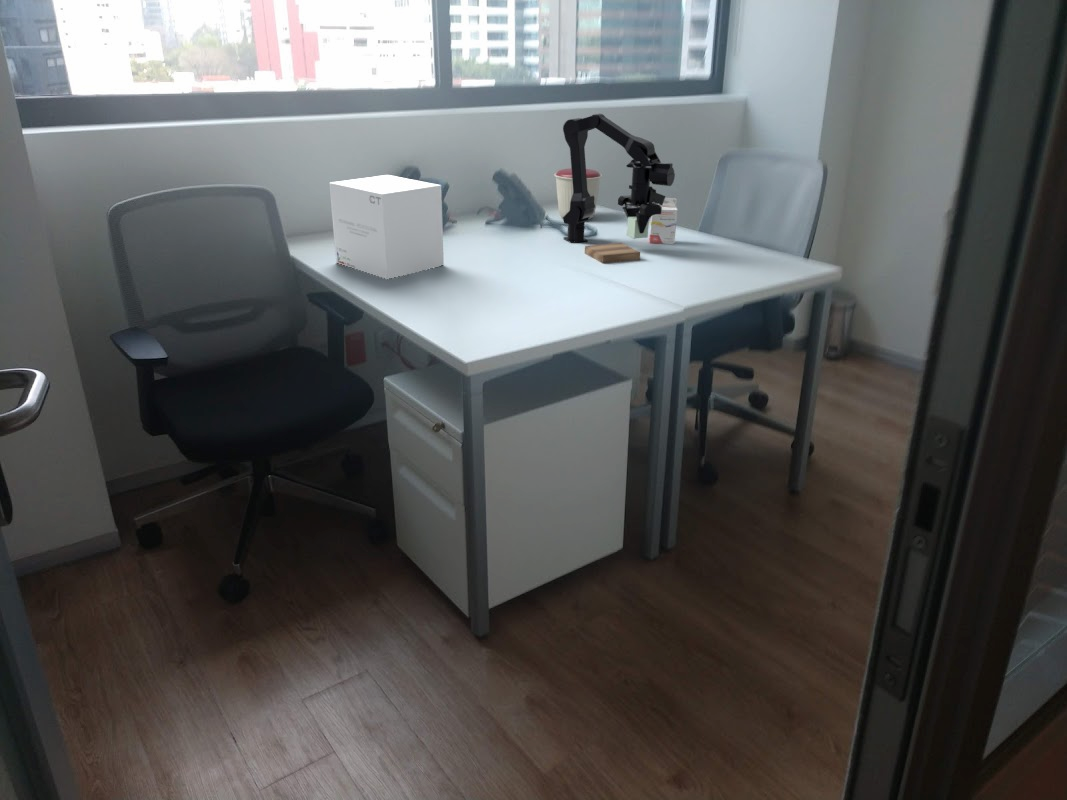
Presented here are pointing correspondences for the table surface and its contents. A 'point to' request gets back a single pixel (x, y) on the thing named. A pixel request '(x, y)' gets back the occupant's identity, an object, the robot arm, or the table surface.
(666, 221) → the ink cartridge box
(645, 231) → the sage block
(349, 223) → the cube
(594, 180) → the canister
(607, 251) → the walnut base
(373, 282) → the table surface
